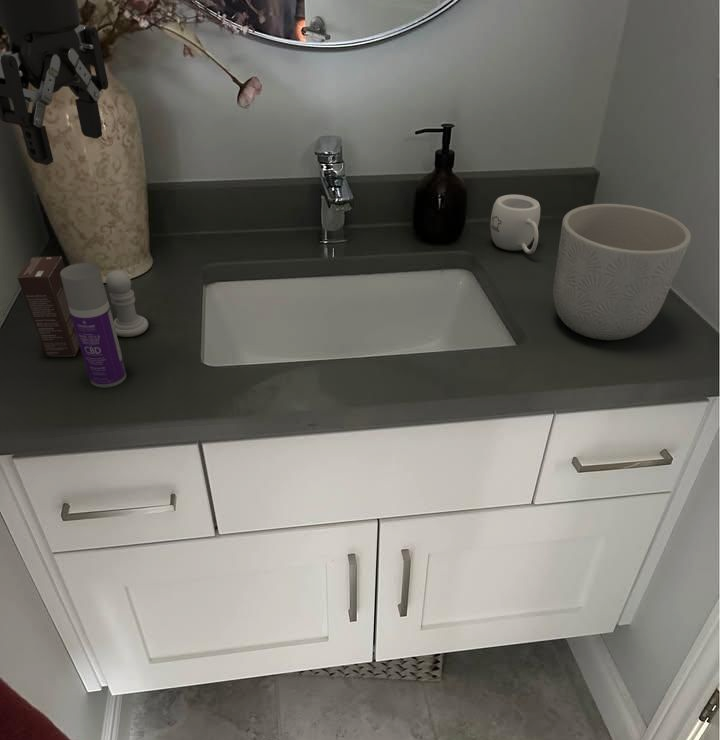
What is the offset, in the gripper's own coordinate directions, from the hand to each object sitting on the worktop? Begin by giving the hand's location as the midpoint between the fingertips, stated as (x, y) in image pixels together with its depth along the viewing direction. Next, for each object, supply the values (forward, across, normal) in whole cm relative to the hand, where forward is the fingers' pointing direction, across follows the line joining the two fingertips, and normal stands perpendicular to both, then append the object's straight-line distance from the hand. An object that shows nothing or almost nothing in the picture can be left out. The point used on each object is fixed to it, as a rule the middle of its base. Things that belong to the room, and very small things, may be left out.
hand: (68, 149), depth 75 cm
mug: (+28, -58, +44) cm, 78 cm away
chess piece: (+29, -8, -3) cm, 30 cm away
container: (+28, +4, +1) cm, 28 cm away
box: (+29, -1, -9) cm, 30 cm away
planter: (+26, -35, +61) cm, 75 cm away
